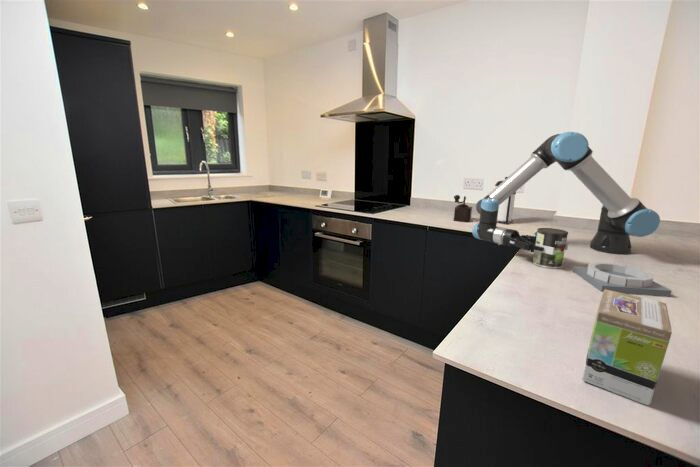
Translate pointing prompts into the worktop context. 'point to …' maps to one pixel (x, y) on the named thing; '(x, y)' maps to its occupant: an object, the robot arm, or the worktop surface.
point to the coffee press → (506, 208)
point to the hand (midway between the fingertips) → (560, 248)
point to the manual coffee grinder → (462, 211)
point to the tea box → (628, 345)
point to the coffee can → (550, 239)
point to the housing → (621, 279)
